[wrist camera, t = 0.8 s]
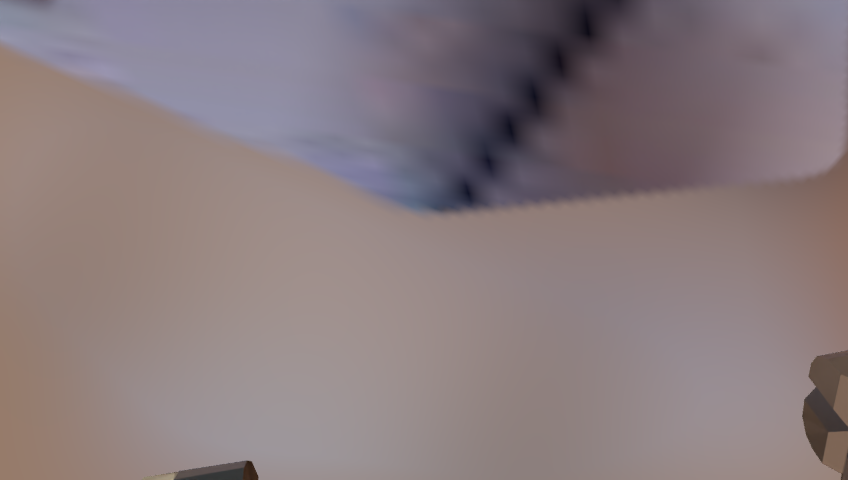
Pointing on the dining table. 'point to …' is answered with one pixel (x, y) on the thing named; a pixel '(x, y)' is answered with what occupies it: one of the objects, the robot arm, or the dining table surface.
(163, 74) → the dining table surface
